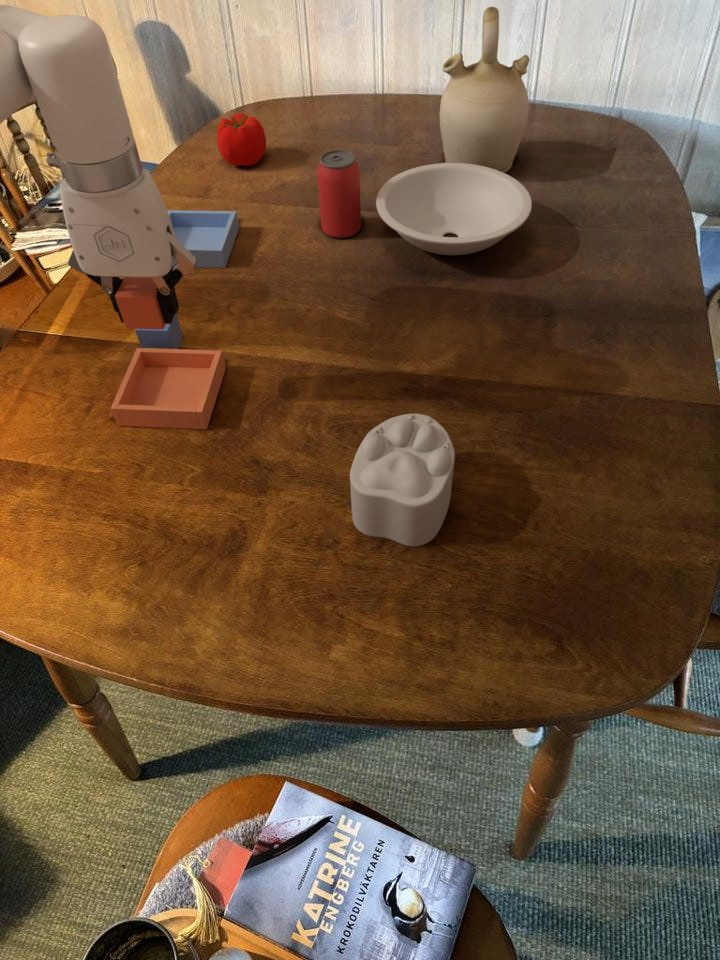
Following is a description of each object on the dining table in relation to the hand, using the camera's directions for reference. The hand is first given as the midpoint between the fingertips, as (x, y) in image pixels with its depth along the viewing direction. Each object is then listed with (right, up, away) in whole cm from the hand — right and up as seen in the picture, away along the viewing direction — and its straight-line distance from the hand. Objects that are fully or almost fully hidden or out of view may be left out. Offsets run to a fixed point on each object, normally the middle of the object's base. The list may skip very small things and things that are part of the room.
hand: (149, 314), depth 85 cm
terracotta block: (0, 0, 0) cm, 0 cm away
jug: (+47, +39, +47) cm, 77 cm away
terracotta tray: (0, -8, +10) cm, 13 cm away
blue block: (-3, -1, +16) cm, 17 cm away
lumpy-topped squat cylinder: (+30, -21, -2) cm, 37 cm away
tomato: (+3, +41, +51) cm, 65 cm away
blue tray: (-2, +19, +32) cm, 37 cm away
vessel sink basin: (+40, +20, +32) cm, 54 cm away
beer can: (+22, +22, +34) cm, 46 cm away
